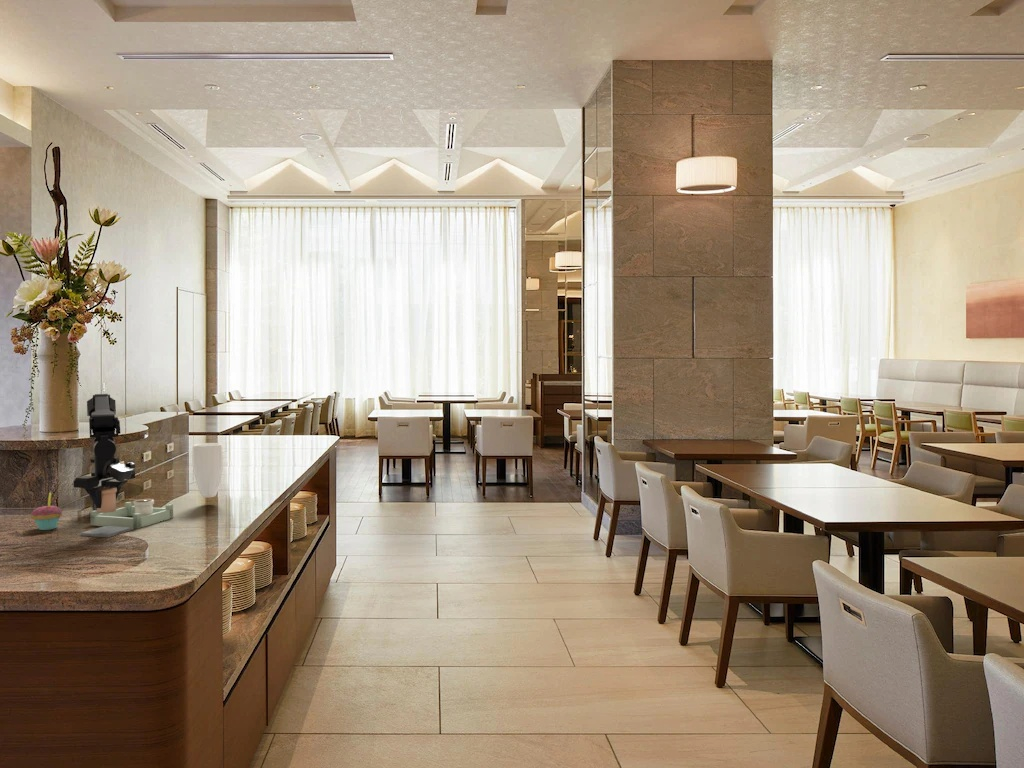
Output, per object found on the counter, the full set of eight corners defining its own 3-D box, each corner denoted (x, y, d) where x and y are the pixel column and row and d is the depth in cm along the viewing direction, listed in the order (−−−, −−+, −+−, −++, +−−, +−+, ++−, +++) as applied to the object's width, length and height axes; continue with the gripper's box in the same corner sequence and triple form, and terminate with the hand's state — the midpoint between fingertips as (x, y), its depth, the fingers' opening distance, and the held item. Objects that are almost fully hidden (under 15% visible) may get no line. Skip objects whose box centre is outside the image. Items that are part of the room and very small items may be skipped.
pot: (129, 523, 253) (129, 501, 253) (143, 519, 259) (142, 498, 259) (145, 524, 251) (144, 502, 251) (158, 520, 257) (158, 499, 257)
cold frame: (90, 525, 251) (90, 511, 251) (128, 514, 267) (128, 501, 266) (137, 528, 246) (137, 514, 246) (173, 517, 262) (172, 504, 261)
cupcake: (69, 526, 250) (67, 488, 250) (45, 532, 242) (44, 493, 241) (48, 524, 253) (47, 487, 252) (24, 530, 245) (23, 491, 244)
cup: (186, 506, 281) (185, 445, 280) (208, 500, 290) (206, 442, 289) (209, 508, 277) (208, 446, 276) (230, 502, 286) (229, 443, 285)
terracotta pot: (90, 512, 239) (89, 489, 238) (106, 508, 244) (105, 485, 244) (106, 513, 237) (106, 490, 237) (122, 509, 243) (121, 486, 242)
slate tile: (80, 535, 238) (80, 532, 238) (106, 528, 247) (106, 525, 247) (107, 537, 235) (107, 534, 235) (132, 529, 244) (132, 527, 244)
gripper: (102, 460, 229) (103, 514, 229) (148, 451, 246) (150, 501, 247) (71, 459, 232) (72, 512, 233) (119, 450, 250) (121, 499, 250)
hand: (106, 506), depth 241 cm, fingers closed on terracotta pot, 5 cm apart
